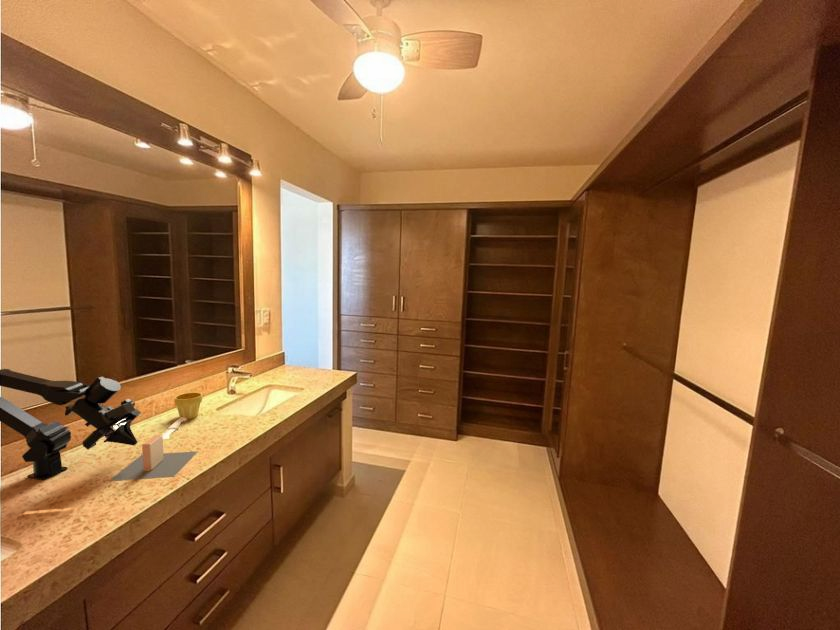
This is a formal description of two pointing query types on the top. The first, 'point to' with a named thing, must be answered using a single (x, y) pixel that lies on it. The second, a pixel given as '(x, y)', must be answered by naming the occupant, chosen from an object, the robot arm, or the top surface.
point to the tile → (152, 452)
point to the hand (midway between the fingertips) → (135, 444)
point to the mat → (163, 469)
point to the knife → (173, 428)
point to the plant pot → (188, 404)
